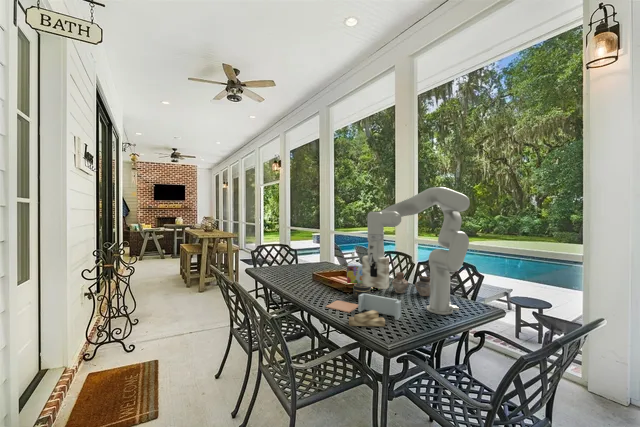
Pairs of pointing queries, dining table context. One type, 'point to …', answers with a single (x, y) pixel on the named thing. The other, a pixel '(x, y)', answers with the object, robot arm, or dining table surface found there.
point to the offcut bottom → (368, 322)
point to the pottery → (421, 285)
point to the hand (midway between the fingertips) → (375, 275)
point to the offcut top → (366, 316)
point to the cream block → (382, 273)
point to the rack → (380, 305)
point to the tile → (342, 306)
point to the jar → (360, 290)
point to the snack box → (354, 274)
